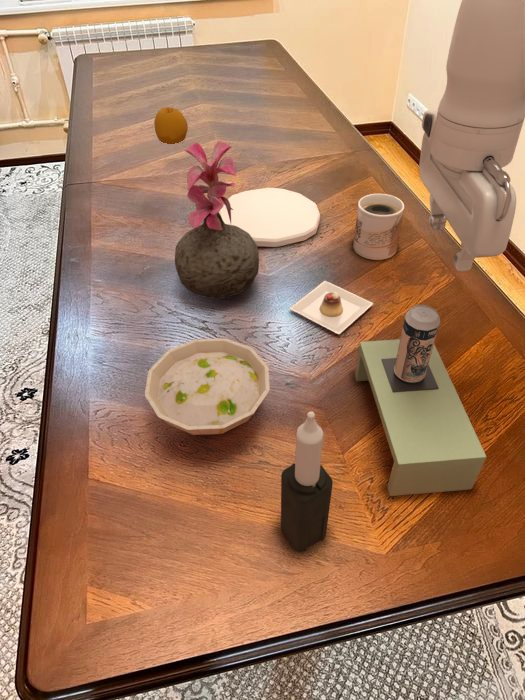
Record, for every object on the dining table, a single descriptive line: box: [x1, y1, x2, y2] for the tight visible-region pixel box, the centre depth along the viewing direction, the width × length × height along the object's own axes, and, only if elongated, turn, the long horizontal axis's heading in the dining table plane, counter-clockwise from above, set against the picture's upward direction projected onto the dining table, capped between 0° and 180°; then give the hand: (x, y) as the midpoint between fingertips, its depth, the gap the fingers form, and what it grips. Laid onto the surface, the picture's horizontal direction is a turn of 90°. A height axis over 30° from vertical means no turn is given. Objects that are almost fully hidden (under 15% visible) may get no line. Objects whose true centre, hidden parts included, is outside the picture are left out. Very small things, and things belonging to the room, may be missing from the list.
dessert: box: [289, 280, 374, 335], centre depth 105 cm, size 12×12×5 cm
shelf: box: [354, 338, 487, 497], centre depth 83 cm, size 12×24×8 cm, turn 5°
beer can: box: [394, 304, 441, 382], centre depth 79 cm, size 5×5×12 cm
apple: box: [153, 106, 189, 144], centre depth 161 cm, size 10×10×12 cm
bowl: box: [144, 337, 271, 436], centre depth 84 cm, size 19×19×10 cm
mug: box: [352, 193, 405, 261], centre depth 120 cm, size 10×12×11 cm
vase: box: [174, 140, 260, 300], centre depth 103 cm, size 17×17×30 cm
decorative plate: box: [219, 187, 321, 248], centre depth 131 cm, size 25×4×25 cm
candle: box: [280, 411, 334, 553], centre depth 65 cm, size 5×5×25 cm
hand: (448, 246), depth 69 cm, fingers open, 8 cm apart
